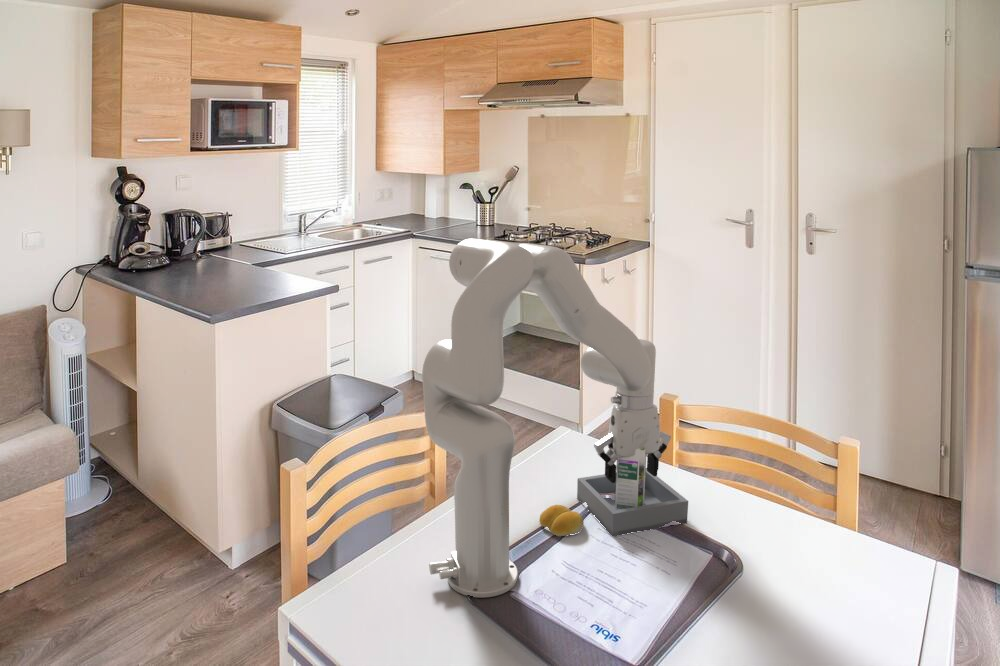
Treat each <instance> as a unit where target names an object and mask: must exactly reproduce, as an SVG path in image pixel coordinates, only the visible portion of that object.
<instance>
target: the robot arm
mask: <svg viewBox="0 0 1000 666" xmlns="http://www.w3.org/2000/svg"><path fill="white" fill-rule="evenodd" d="M448 260H449V261H448V267H449V271H450V273H451V276H452V277H453V279H454V280H456V281H457V283H458V284H460V285H462V286H463V287H466V288H465V289H464V291H463V292H462V293H461V294H460V296H459V298H458V299H457V302H456V303H455V305H454V308H453V311H452V315H451V324H450V327H451V328H450V329H451V330H450V332H451V335H450V336H451V339H450V338H447V339H442V340H440V341H438V342H436V343H434V344H433V346H432V347H431V348H430V349H429V350H428V352H427V354H426V356H425V357H424V361H423V363H422V364H423V365H422V375H421V376H422V392H423V409H424V411H423V412H424V421H425V422H424V423H425V428H426V432H427V435H428V437H429V438H430V440H431V441H432V443H434V445H436V446H437V447H439V448H440V449H443V450H444V451H446V452H448V453H450V454H452V455H453V456H455V457H456V458H458V459H459V460H460V461H461V462H460V463H461V465H460V469H459V470H458V471H459V472H458V473H457V475H456V478H455V480H454V488H453V492H454V494H453V496H454V497H453V498H454V499H453V500H454V537H455V538H454V539H455V543H454V544H455V550H453V551H451V552H450V553H451V554H450V555H451V556H450V557H449V558H446V560H444V561H436V562H430V563H429V564H428V566H429V573H430V575H436V574H439V578H440V580H445V579H447V583H448V585H449V586H450V587H451V588H452V589H453V590H454V591H456V592H457V593H458V594H461V595H464V596H467V595H470V596H473V597H472V598H485V599H486V598H492V597H497V596H500V595H503V594H505V593H507V592H508V591H510V590H511V589H513V588H514V587H515V585H516V584H517V582H518V580H517V579H518V578H519V570H518V568H517V566H516V564H515V563H514V562H513V561H511V560H510V475H511V474H510V471H511V464H512V459H513V454H514V450H515V444H516V441H515V439H516V438H515V436H516V435H515V433H514V429H513V427H512V426H511V424H510V423H509V421H508V420H506V419H505V418H504V417H503V416H502V415H500V414H499V413H497V412H495V411H493V410H491V409H488V408H486V407H484V406H489V405H492V404H494V403H496V402H497V401H498V400H499V399H500V397H501V396H502V394H503V391H504V386H505V361H504V358H505V357H504V323H505V317H506V315H507V313H508V310H509V309H510V307H511V306H512V304H513V302H514V301H516V299H517V298H518V297H519V295H520V294H521V293H522V292H524V290H525V291H529V292H532V293H534V294H536V295H537V297H538V298H539V300H541V302H542V304H543V305H544V307H545V308H546V309H547V311H548V313H549V314H550V316H551V318H552V319H553V321H554V322H555V323H556V324H557V326H558V328H559V329H560V330H561V331H562V332H563V333H565V334H566V335H567V336H569V337H571V338H572V339H573V340H575V341H577V342H579V343H581V344H583V345H585V346H587V347H588V348H586V350H585V351H584V352H583V354H582V356H581V357H580V368H581V370H582V372H583V374H584V375H585V376H586V377H588V379H591V380H594V381H595V382H599V383H602V384H605V385H609V386H612V387H616V391H615V395H614V396H611V397H610V402H611V404H614V405H613V407H612V410H611V414H610V417H609V424H608V432H607V433H608V434H607V435H606V436H604V437H603V438H601V439H600V440H598V441H597V442H595V443H594V444H593V448H594V449H595V451H596V454H597V455H598V457H600V458H601V459H602V460H603V461H604V474H605V476H606V478H607V479H608V480H609V481H611V482H612V483H615V482H616V472H617V464H615V463H616V462H617V459H618V457H630V456H634V455H635V450H636V449H639V448H644V447H645V454H646V468H647V471H648V472H649V473H650V474H651V475H653V476H657V477H658V471H659V462H660V459H661V458H662V455H663V453H664V452H665V451H666V450H667V449H668V448H667V447H668V446H667V445H669V443H670V441H671V439H672V436H671V435H670V434H669V433H667V432H664V431H662V430H661V428H660V417H659V411H658V407H657V405H656V404H654V397H655V380H656V379H655V376H656V357H657V356H656V355H657V354H656V353H657V351H656V345H655V344H654V343H653V342H652V341H650V340H647V339H643V338H642V339H641V338H640V339H639V338H638V336H637V335H636V334H635V333H634V332H633V330H631V328H629V327H628V326H627V325H626V324H624V323H623V322H622V321H621V320H620V319H619V318H617V317H616V315H614V314H613V313H612V312H610V311H609V310H608V309H607V308H606V307H604V306H603V305H601V303H599V300H598V299H597V298H596V297H595V295H594V292H592V290H591V288H590V287H589V284H588V282H587V281H586V280H585V278H584V277H583V275H582V273H581V271H580V270H579V268H578V266H577V265H576V263H575V262H574V260H573V258H572V257H571V255H570V254H569V253H568V252H567V251H565V250H564V249H562V248H560V247H557V246H553V245H544V244H536V243H529V242H515V241H514V242H513V241H512V242H511V241H501V240H500V241H499V240H491V239H489V240H488V239H481V238H466V239H464V240H462V241H460V242H458V243H457V244H456V245H455V246H454V248H453V249H452V251H451V253H450V256H449V259H448ZM606 447H608V450H607V451H606V452H605V450H604V448H606ZM516 581H517V582H516ZM515 583H516V584H515ZM470 596H469V597H470ZM467 597H468V596H467Z"/></svg>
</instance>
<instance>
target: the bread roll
mask: <svg viewBox="0 0 1000 666" xmlns="http://www.w3.org/2000/svg"><path fill="white" fill-rule="evenodd" d="M538 519H539V525H540V526H541V527H542V526H547V527H548V528H549V530H550V532H549V533H551V534H552V535H553V536H555V535H556V537H561V536H565V535H570V534H575V533H578V532H580V531H581V532H582V530H583V529H582V527H584V518H583V517H582V515H581V514H580V513H579V512H577V511H572V510H571V509H570V508H568V507H566V506H565V505H562V504H553V505H551V506H549V507H546V509H545V510H544V511H542V512H541V514H540V515H539V518H538ZM581 529H582V530H581ZM581 532H580V533H581ZM578 534H579V533H578ZM565 537H566V536H565Z"/></svg>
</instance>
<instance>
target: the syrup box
mask: <svg viewBox="0 0 1000 666" xmlns="http://www.w3.org/2000/svg"><path fill="white" fill-rule="evenodd" d="M646 468H647V454H645V447H644V448H639V449H636V450H635V455H634V456H630V457H618V459H617V460H616V500H615V510H620V509H626V508H632V507H638V506H643V505H644V494H645V473H646Z"/></svg>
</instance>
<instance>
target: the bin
mask: <svg viewBox="0 0 1000 666" xmlns="http://www.w3.org/2000/svg"><path fill="white" fill-rule="evenodd" d="M576 489H577V492H576V500H577V502H579V503H580V501H585V502H586V503H587V505H588V510H589V511H588V510H587V511H588V512H589V514H590V513H592V514H593V515H595V517H596V518H597V519H598V520H599V521H600V523H601V524H602V525H603V526H604V527H605V528H606V530H607V531H608V532H609V533H610V534H611V535H612V536H614V537H618V536H617V535H620V536H623V535H622V534H625V535H628V534H627V533H631V532H636V533H638V532H637V531H642V532H645V531H644V530H647V531H651V530H650V529H653V530H658V529H660V528H659V527H662V526H664V525H665V524H668V523H670V522H672V521H676V522H679V523H681V524H680V525H684V524H688V514H689V513H688V512H689V500H688V499H687V498H685V496H683V495H682V494H680V493H679V492H678V491H677V490H675V489H674V488H673V487H672V486H670V485H669V484H667V483H666V482H665V481H664V480H662V479H661V478H660V477H659V476H658V475H657V476H653V475H651V474H650V473H649V472H648V471H647V467H646V473H645V494H644V505H643V506H638V507H632V508H626V509H620V510H615V500H612V499H611V498H603V497H602V496H601V495H600V494H599V493H614V494H616V482H615V483H612V482H611V481H609V480H608V479H607V478H606V476H605V473H604V474H597V475H592V476H585V477H577V488H576ZM600 523H599V524H600ZM601 524H600V525H601ZM602 525H601V526H602ZM603 526H602V527H603ZM604 527H603V528H604ZM605 528H604V529H605ZM657 528H658V529H657ZM606 530H605V531H606ZM607 531H606V532H607ZM608 532H607V533H608ZM609 533H608V534H609ZM610 534H609V535H610ZM631 534H632V533H631ZM611 535H610V536H611ZM612 536H611V537H612Z"/></svg>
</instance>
